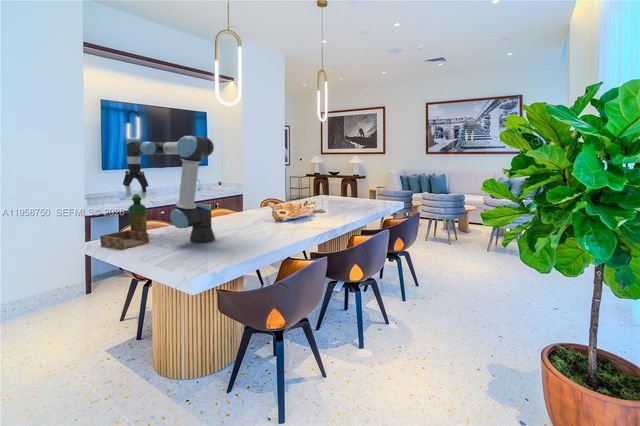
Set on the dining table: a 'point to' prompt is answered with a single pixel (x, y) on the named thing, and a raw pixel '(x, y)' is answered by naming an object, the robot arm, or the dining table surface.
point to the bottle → (138, 215)
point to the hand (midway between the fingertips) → (136, 197)
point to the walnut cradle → (124, 239)
